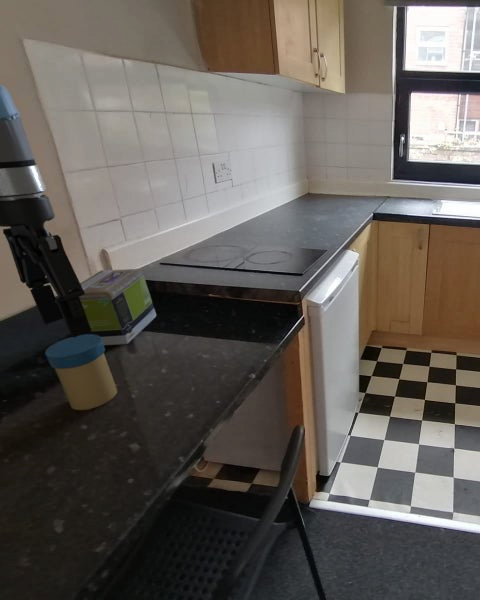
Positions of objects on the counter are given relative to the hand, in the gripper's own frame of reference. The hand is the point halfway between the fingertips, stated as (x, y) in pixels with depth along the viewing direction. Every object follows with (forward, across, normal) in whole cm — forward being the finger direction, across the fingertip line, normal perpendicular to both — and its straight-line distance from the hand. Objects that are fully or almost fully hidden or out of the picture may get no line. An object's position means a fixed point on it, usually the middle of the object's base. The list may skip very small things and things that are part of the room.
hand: (67, 327), depth 70 cm
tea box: (+15, -21, +16) cm, 30 cm away
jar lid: (+4, 0, 0) cm, 4 cm away
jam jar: (+15, 0, 0) cm, 15 cm away
